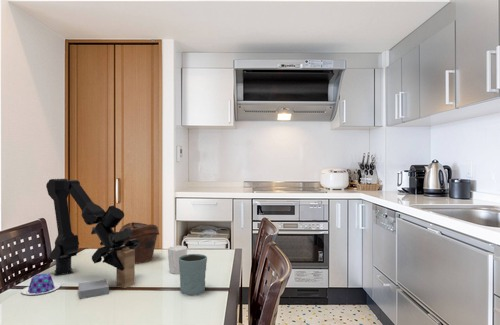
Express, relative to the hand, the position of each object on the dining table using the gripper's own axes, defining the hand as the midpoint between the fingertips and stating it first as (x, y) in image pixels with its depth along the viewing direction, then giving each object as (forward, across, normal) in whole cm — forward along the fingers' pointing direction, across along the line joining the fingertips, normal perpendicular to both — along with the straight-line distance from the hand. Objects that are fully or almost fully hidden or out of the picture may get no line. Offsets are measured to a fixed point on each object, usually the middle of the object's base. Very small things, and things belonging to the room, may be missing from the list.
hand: (128, 268), depth 122 cm
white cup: (+9, +22, +1) cm, 24 cm away
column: (+4, 0, +6) cm, 7 cm away
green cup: (+22, +6, -12) cm, 26 cm away
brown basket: (-10, +28, +20) cm, 36 cm away
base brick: (0, -10, +9) cm, 14 cm away
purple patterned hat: (-13, -16, +23) cm, 31 cm away
